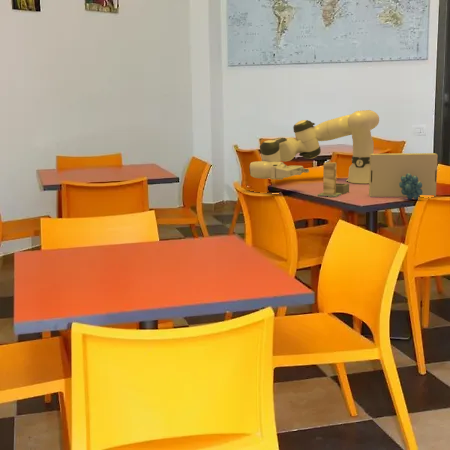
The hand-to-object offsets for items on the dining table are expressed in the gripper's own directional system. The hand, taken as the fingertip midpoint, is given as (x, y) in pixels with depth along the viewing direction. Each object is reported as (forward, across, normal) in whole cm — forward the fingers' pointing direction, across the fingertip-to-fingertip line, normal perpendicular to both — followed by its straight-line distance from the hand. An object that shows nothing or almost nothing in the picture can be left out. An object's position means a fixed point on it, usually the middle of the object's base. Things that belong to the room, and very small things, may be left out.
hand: (304, 171), depth 330 cm
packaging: (+45, -12, -11) cm, 48 cm away
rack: (+13, -10, -11) cm, 20 cm away
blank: (+13, 0, -10) cm, 16 cm away
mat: (+13, 0, -11) cm, 17 cm away
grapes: (+51, -2, -11) cm, 52 cm away
